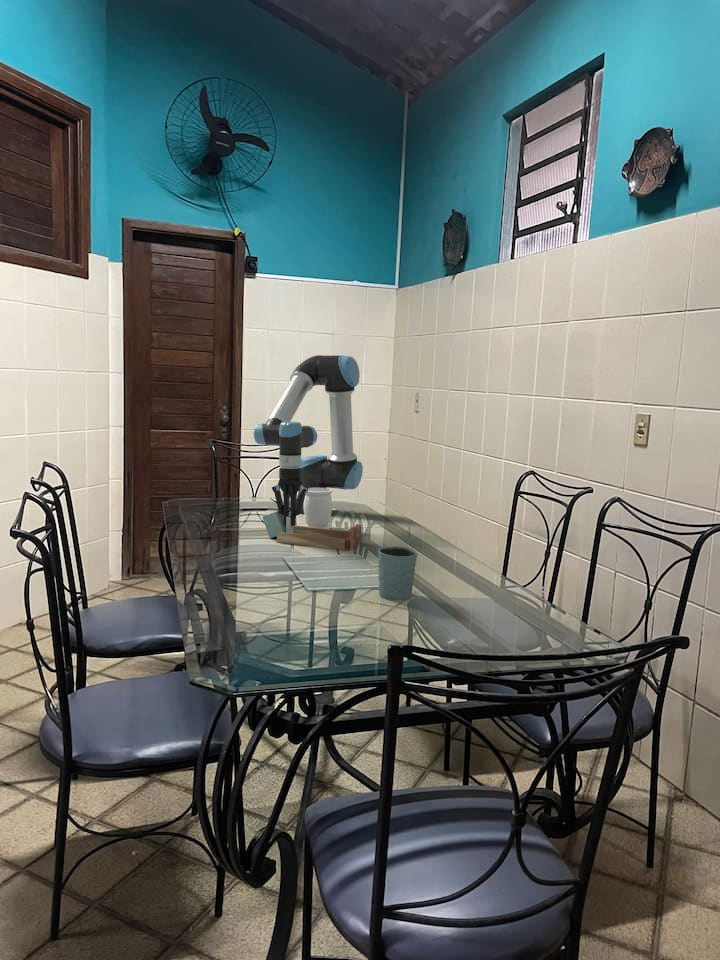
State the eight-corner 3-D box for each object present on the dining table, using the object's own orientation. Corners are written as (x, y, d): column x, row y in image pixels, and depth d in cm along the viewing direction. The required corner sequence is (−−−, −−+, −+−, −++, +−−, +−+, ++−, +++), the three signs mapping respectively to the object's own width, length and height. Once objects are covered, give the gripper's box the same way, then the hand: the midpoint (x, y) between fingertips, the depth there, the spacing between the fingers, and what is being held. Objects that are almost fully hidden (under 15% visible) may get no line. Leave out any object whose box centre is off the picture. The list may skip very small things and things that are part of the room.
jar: (314, 533, 249) (315, 492, 246) (297, 528, 256) (298, 488, 254) (337, 530, 255) (338, 490, 253) (320, 525, 263) (320, 486, 261)
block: (278, 535, 245) (271, 513, 246) (292, 530, 243) (284, 508, 243) (269, 538, 240) (262, 516, 240) (283, 533, 237) (275, 511, 238)
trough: (291, 534, 246) (292, 518, 245) (361, 542, 238) (361, 525, 237) (276, 542, 235) (276, 525, 234) (348, 550, 227) (349, 532, 226)
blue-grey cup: (377, 588, 187) (378, 545, 185) (414, 590, 187) (416, 546, 185) (376, 600, 177) (378, 555, 175) (416, 602, 177) (418, 556, 175)
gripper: (268, 467, 235) (267, 535, 238) (303, 469, 231) (302, 538, 234) (277, 464, 242) (277, 530, 245) (312, 467, 238) (311, 534, 241)
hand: (289, 534), depth 240 cm, fingers closed
